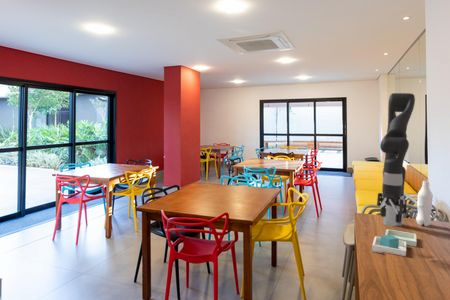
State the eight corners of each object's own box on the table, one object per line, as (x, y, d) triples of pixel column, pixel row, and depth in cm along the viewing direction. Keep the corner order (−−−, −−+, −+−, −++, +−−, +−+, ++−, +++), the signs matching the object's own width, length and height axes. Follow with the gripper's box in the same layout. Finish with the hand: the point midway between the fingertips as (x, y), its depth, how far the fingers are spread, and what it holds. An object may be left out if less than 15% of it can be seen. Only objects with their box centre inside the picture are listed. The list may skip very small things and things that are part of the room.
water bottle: (425, 223, 174) (427, 180, 172) (434, 227, 167) (436, 182, 165) (413, 223, 174) (415, 180, 172) (421, 227, 167) (424, 182, 165)
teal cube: (380, 246, 136) (380, 235, 135) (389, 245, 137) (390, 234, 136) (388, 250, 131) (389, 239, 130) (398, 249, 132) (398, 238, 132)
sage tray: (386, 234, 153) (386, 229, 153) (415, 239, 147) (415, 233, 146) (384, 242, 142) (384, 236, 142) (416, 248, 136) (416, 241, 136)
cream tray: (374, 242, 142) (375, 236, 142) (405, 248, 136) (406, 241, 136) (372, 251, 132) (372, 244, 131) (405, 258, 125) (406, 251, 125)
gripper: (413, 185, 126) (410, 223, 127) (387, 179, 139) (385, 214, 141) (398, 186, 124) (396, 225, 125) (373, 180, 138) (371, 215, 139)
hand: (390, 219), depth 133 cm, fingers open, 8 cm apart
